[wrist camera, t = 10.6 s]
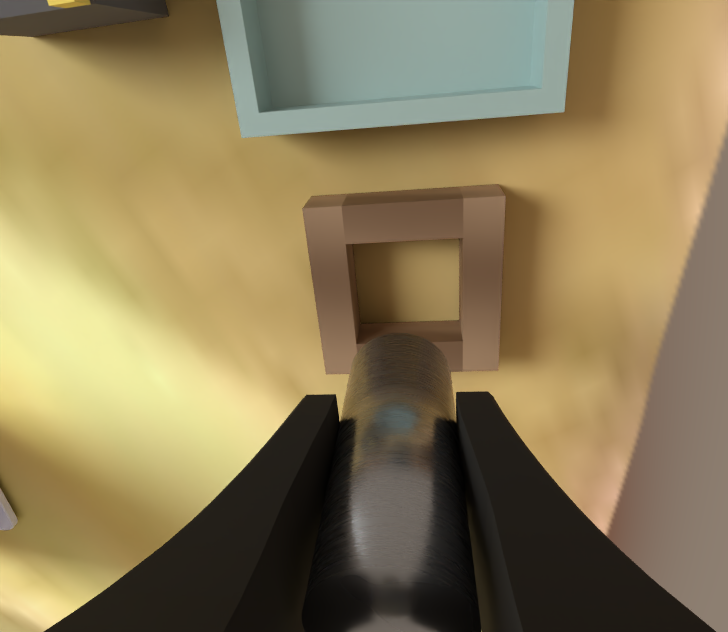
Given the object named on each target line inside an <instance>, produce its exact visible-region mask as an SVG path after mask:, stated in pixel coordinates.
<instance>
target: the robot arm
mask: <svg viewBox="0 0 728 632" xmlns="http://www.w3.org/2000/svg"><path fill="white" fill-rule="evenodd" d="M339 425H340V421H339V414H338V406H337V399H336V394H332V395H306V396H305V397H304V398H303V399H302V400H301V402H300V403H299V404H298V405H297V406H296V408H295V409H294V410H293V411H292V413H291V414H290V415H289V416H288V418H287V419H286V420H285V421H284V423H283V424H282V425H281V426H280V427H279V429H278V430H277V431H276V432H275V433H274V435H273V436H272V437H271V438H270V439H269V441H268V442H267V443H266V444H265V445H264V446H263V447H262V449H261V450H260V451H259V452H258V453H257V454H256V455H255V457H254V458H253V459H252V460H251V461H250V462H249V463H248V464H247V466H246V467H245V468H244V469H243V470H242V471H241V472H240V473H239V474H238V475H237V476H236V477H235V478H234V479H233V480H232V481H231V482H230V483H229V484H228V485H227V487H226V488H225V489H224V490H223V491H222V492H221V493H220V494H219V495H218V496H217V497H216V498H215V499H214V500H213V501H212V502H211V503H210V504H209V505H208V506H207V507H206V508H204V509H203V510H202V511H201V512H200V513H199V514H198V515H197V516H196V517H195V518H194V519H193V520H192V521H191V522H189V523H188V524H187V525H186V526H185V527H184V528H183V529H181V530H180V531H179V532H178V533H177V534H176V535H175V536H173V537H172V538H171V539H170V540H169V541H168V542H166V543H165V544H164V545H163V546H162V547H160V548H159V549H158V550H157V551H155V552H154V553H153V554H151V555H150V556H149V557H147V558H146V559H145V560H144V561H142V562H141V563H140V564H138V565H137V566H136V567H134V568H133V569H132V570H131V571H129V572H128V573H127V574H125V575H124V576H123V577H121V578H120V579H119V580H118V581H116V582H115V583H114V584H112V585H111V586H110V587H108V588H107V589H106V590H104V591H103V592H101V593H100V594H99V595H97V596H96V597H94V598H93V599H91V600H90V601H89V602H87V603H86V604H84V605H83V606H81V607H80V608H79V609H77V610H76V611H74V612H73V613H71V614H70V615H68V616H67V617H65V618H64V619H62V620H61V621H59V622H58V623H56V624H55V625H53V626H52V627H50V628H49V629H47V630H46V631H44V632H305V631H304V628H303V625H302V609H303V604H304V599H305V594H306V589H307V584H308V579H309V574H310V569H311V564H312V559H313V554H314V550H315V545H316V540H317V535H318V530H319V525H320V520H321V515H322V510H323V505H324V500H325V495H326V490H327V485H328V480H329V475H330V470H331V465H332V460H333V455H334V450H335V445H336V440H337V435H338V430H339ZM456 425H457V434H458V442H459V450H460V459H461V465H462V472H463V480H464V488H465V496H466V505H467V513H468V521H469V530H470V538H471V546H472V554H473V563H474V571H475V579H476V588H477V596H478V604H479V612H480V621H481V629H482V632H716V631H715V630H713V629H712V628H711V627H710V626H709V625H707V624H706V623H705V622H704V621H702V620H701V619H700V618H699V617H698V616H696V615H695V614H694V613H693V612H692V611H690V610H689V609H688V608H687V607H685V606H684V605H683V604H682V603H681V602H679V601H678V600H677V599H676V598H675V597H673V596H672V595H671V594H669V593H668V592H667V591H666V590H665V589H664V588H662V587H661V586H660V585H659V584H657V583H656V582H655V581H654V580H653V579H652V578H650V577H649V576H648V575H647V574H646V573H645V572H644V571H643V570H642V569H641V568H640V567H638V566H637V565H636V564H635V563H634V562H633V561H632V560H631V559H630V558H629V557H627V556H626V555H625V554H624V553H623V552H622V551H621V550H620V549H619V548H618V547H617V546H616V545H615V544H614V543H613V542H612V541H611V540H610V539H609V538H608V537H607V536H606V535H604V534H603V533H602V532H601V531H600V530H599V529H598V528H597V527H596V526H595V525H594V524H593V523H592V521H591V520H590V519H589V518H588V517H587V516H586V515H585V514H584V513H583V512H582V511H581V510H580V509H579V508H578V507H577V506H576V505H575V503H574V502H573V501H572V500H571V499H570V498H569V497H568V496H567V495H566V493H565V492H564V491H563V490H562V489H561V488H560V487H559V486H558V484H557V483H556V482H555V481H554V480H553V479H552V477H551V476H550V475H549V474H548V473H547V471H546V470H545V469H544V468H543V466H542V465H541V464H540V463H539V461H538V460H537V459H536V458H535V456H534V455H533V454H532V453H531V451H530V450H529V449H528V447H527V446H526V445H525V443H524V442H523V441H522V439H521V438H520V437H519V435H518V434H517V433H516V431H515V430H514V428H513V427H512V425H511V424H510V423H509V421H508V420H507V418H506V417H505V415H504V414H503V412H502V410H501V409H500V407H499V406H498V404H497V402H496V401H495V399H494V397H493V396H492V395H491V394H490V393H489V392H456ZM17 522H18V520H17V517H16V515H15V513H14V512H13V510H12V508H11V506H10V504H9V503H8V501H7V499H6V497H5V495H4V494H3V492H2V490H1V488H0V530H11V529H12V528H13V527H14V526H15V525H16V524H17Z"/></svg>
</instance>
